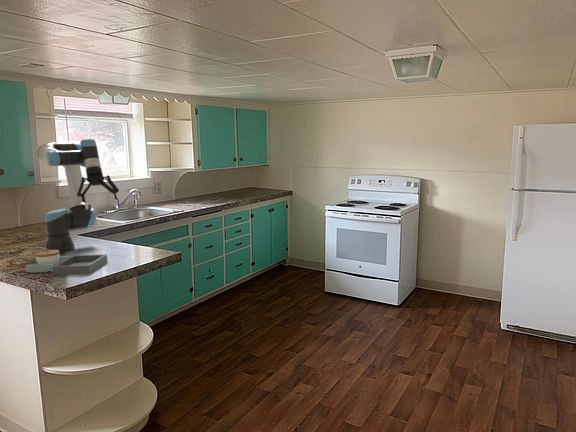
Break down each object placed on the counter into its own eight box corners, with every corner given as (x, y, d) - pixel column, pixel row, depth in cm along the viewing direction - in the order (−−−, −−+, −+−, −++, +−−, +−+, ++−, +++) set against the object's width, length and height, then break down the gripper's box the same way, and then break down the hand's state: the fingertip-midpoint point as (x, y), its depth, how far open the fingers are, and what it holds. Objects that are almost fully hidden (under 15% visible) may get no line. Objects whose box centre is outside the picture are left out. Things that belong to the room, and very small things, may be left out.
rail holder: (26, 272, 214) (25, 265, 214) (45, 263, 231) (44, 256, 230) (53, 271, 214) (52, 264, 214) (70, 262, 231) (69, 255, 230)
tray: (53, 275, 208) (52, 266, 208) (74, 263, 229) (73, 255, 228) (90, 273, 208) (89, 265, 208) (107, 261, 229) (106, 254, 228)
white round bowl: (64, 266, 223) (62, 248, 221) (41, 271, 215) (39, 252, 214) (56, 263, 230) (53, 245, 228) (33, 268, 222) (31, 249, 221)
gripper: (68, 167, 221) (76, 208, 218) (119, 164, 236) (127, 202, 233) (65, 172, 227) (73, 212, 224) (115, 169, 242) (124, 206, 239)
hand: (101, 207), depth 229 cm, fingers open, 13 cm apart
